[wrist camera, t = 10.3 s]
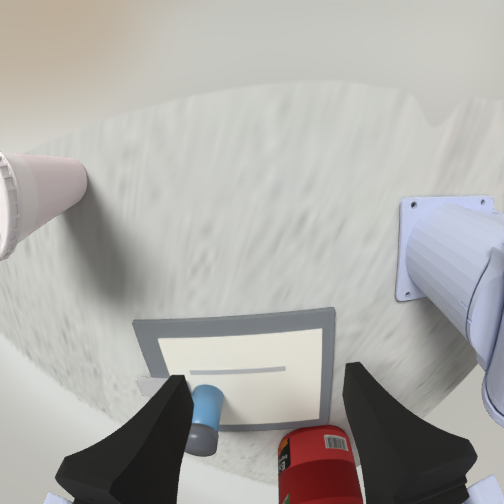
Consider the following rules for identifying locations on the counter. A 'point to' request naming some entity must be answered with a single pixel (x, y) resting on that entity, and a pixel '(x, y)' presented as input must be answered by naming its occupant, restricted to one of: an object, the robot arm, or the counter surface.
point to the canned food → (317, 467)
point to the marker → (205, 421)
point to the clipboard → (248, 364)
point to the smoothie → (35, 194)
